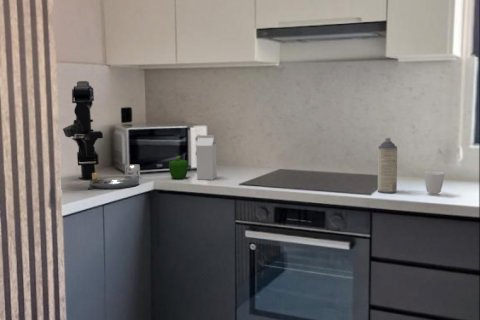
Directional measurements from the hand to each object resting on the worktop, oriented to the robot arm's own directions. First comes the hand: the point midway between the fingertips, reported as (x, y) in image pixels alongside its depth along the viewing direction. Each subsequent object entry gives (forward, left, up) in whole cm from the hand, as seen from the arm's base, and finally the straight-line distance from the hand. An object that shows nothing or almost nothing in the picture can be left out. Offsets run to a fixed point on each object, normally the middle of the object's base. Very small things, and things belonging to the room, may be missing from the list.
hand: (85, 155), depth 227 cm
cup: (+117, +70, -13) cm, 137 cm away
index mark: (+7, -2, -13) cm, 15 cm away
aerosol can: (+102, +64, -13) cm, 121 cm away
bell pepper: (+15, +37, -13) cm, 42 cm away
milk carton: (+26, +44, -13) cm, 53 cm away
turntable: (+7, +9, -13) cm, 17 cm away
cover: (-1, +24, -13) cm, 27 cm away
